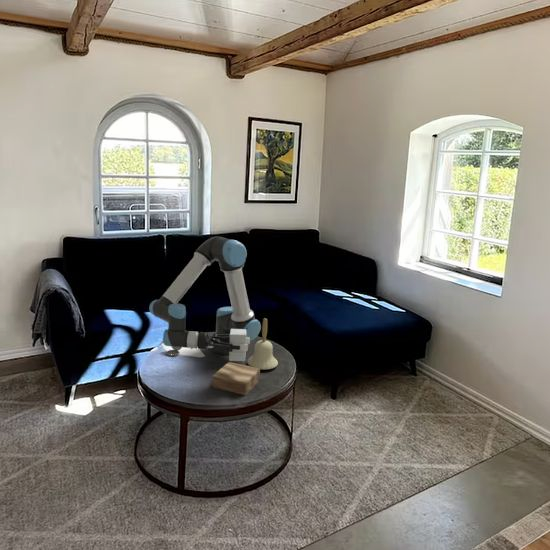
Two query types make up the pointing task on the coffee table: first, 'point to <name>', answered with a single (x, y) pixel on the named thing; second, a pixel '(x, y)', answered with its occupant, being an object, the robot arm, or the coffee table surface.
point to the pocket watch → (173, 351)
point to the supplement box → (238, 338)
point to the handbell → (263, 352)
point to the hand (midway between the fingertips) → (248, 344)
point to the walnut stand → (236, 378)
